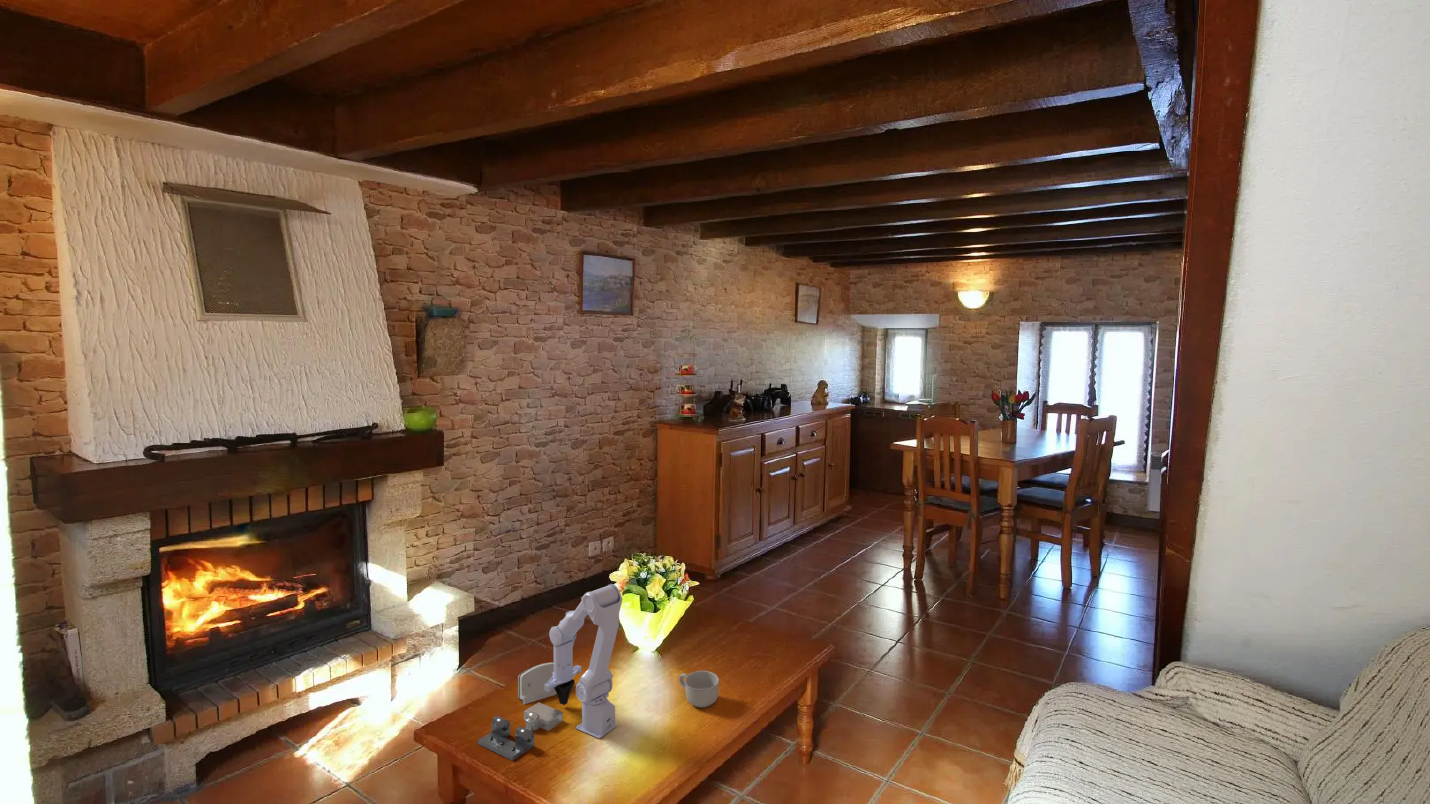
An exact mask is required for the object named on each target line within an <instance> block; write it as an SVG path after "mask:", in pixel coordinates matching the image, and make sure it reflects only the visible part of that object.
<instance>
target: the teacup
mask: <svg viewBox="0 0 1430 804" xmlns="http://www.w3.org/2000/svg"><path fill="white" fill-rule="evenodd" d="M683 678H684V680H683ZM678 682H679V683H680V685H681V687H682V688H683V689H684V690H685V697H686V700H687V701H688V702H689V703H690V704H691V705H692V706H694V707H696V708H700V709H701V708H708V707H710V706H712V705H713V704H714V703H716V701H717V700H718V697H719V683H720V679H719V676H718V675H717V674H716V673H714V672H711V671H708V670H697V671H693V672H690V673H688V674H687V673H685V672H683V673H680V675H679V676H678Z"/></svg>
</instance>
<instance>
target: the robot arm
mask: <svg viewBox="0 0 1430 804" xmlns="http://www.w3.org/2000/svg"><path fill="white" fill-rule="evenodd" d="M580 598H581V601H580V603H579V604H578V605H577V607H576V608H575V610H568V611H566V612H565V616H564V617H563V619H561V620H560V621H559V623H558V625H557V626H552V627H551V628H550V630H549V633H548V634H549V639H550V642H551V644H552V645H553V662H554V672H553V673H552V675H553V676H552V677H551V679H550V680H549V681H548V682H547V683H546V684H544V691H547V692H550V691H551V689H552V688H554V689H555V691H556V693H557V698H558V701H559V704H560V705H563V706H566V705H567V704H568V702H569V699H570V698H569V697H570V694H571V691H572V689H573V686H574V685H575V683H576V681H575V679H574V677H575V676H576V675H577V674H581V673H582V667H583V666H581V665H578V664H576V665H573V647H574V646H575V640H576V638H577V632H578V631H579V630H580V629H581V628H582V627H583V626H584V624H585V618H586V617H587V616H589V618H590V620H591V622H592V623H593V624H594V625H596V626H598V628H597V633H596V637H595V641H594V645H593V649H592V653H591V657H590V661H589V665H588V669H587V670H586V671H585V672H584V673H583V674H582V675H581V676H580V678H579V681H578V682H577V683H576V686H575V694H576V697H577V699H578V700H579V701H580V702H581V723H579V724H578V725H576V726H575V729H576V730H578V731H581V732H583V733H585V734H587V735H590V736H592V737H594V738H597V739H601V738H603V737H604V736H605V735H607V734H608V733H609V732H610V731H611V732H612V731H613V729H614V728H616V727H617V726H618V725H617V723H616V707H615V705H614V703H612V702H611V701H610V700H609V699H608V697H610V695H609V694H610V692H611V691H612V689H613V678H614V674H613V673H612V671H611V670H610V669H609V665H610V662H611V658H612V654H613V650H614V645H615V642H616V638H617V635H618V634H617V633H618V630H619V626H620V612H621V607H622V603H623V597H622V594H621V592H620V590H619V588H618V586H617V585H615V584H612V583H610V584H608V585H606V586H604V587H600V588H598V589H595V590H592V591H587V592H586V593H584V594H583V596H581V597H580Z"/></svg>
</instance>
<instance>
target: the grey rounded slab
mask: <svg viewBox="0 0 1430 804" xmlns="http://www.w3.org/2000/svg"><path fill="white" fill-rule="evenodd" d="M553 672H554V661H553V662H544V663H540V664H537V665H534V666H531V667H530V668H527V669H525V670H524V671H523V672H521V673H520V674H519V675H518V677H517V698H518V699H519V700H522V704H523V705H527V704H530V703H533V702H536V701H539V700H542V699H546V698H550V697H553V696H556V694H557V693H556V691H555V689H554V688H552V689H551V691H550V692H547V691H544V684H546V683H547V682H548V681H549V680H550V679H551V677H552V676H553V675H552V673H553Z"/></svg>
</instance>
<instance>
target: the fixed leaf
mask: <svg viewBox="0 0 1430 804" xmlns="http://www.w3.org/2000/svg"><path fill="white" fill-rule="evenodd" d="M490 725H491V731H490V732H489V733H488V734H485V735H484V736H482V737H481V738H479V739H477V744H478V745H479V746H481V747H483V748H484V749H487V750H489V751H491V752H493V753H495V754H497V755H499V756H502V757H504V758H506V759H508V760H510V761H512V762H513V761H515V760H516V759H518V758H519V757H521V756H522V755H523V754H525V753H527V752H528V751H530V750H531V749H532V748H534V747H535V732H534V730H532V731H531V730H528V729H526V727H524V726H521V725H520V726H519V727H517V729H516V730H515V732H514V736H515V737H514V738H515V741H513V740H511V739H509V738H508V737H509V736H511V722H510V721H509V720H508V719H506V718H503V717H502V716H499V715H495V716H494V717H493V718H492V720H491V724H490Z"/></svg>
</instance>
